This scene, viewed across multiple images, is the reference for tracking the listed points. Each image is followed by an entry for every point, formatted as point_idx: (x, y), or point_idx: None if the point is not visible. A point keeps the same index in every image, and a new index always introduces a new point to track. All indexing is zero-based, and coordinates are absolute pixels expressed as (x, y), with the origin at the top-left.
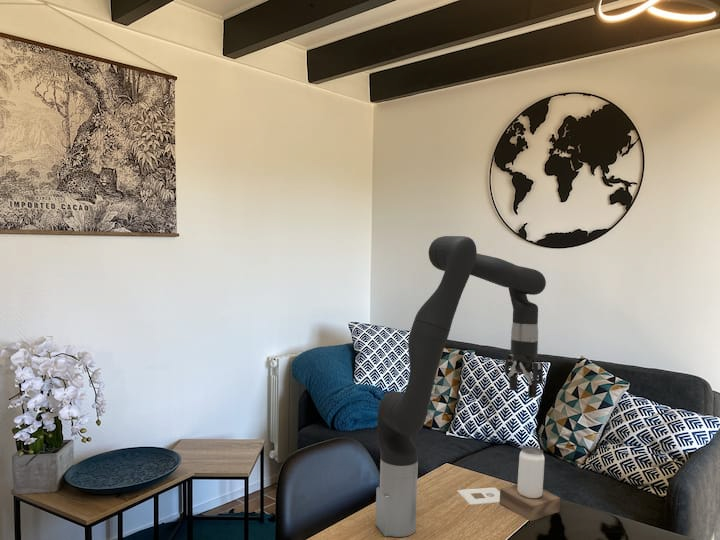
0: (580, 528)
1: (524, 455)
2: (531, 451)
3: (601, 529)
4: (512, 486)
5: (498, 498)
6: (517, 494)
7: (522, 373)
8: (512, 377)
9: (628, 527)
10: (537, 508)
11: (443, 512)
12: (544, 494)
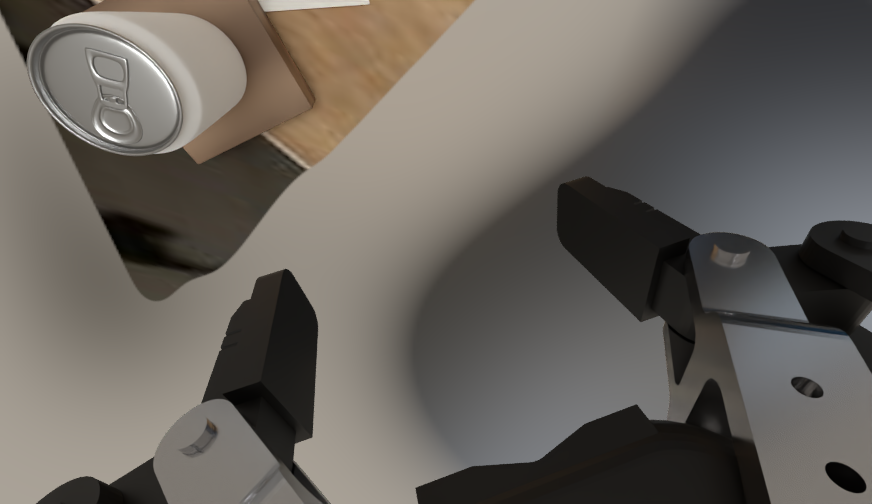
0: (108, 165)
1: (56, 24)
2: (108, 88)
3: (124, 216)
4: (252, 20)
5: None
6: (174, 6)
7: (463, 479)
8: (668, 271)
9: (162, 276)
10: None
11: None
12: None
